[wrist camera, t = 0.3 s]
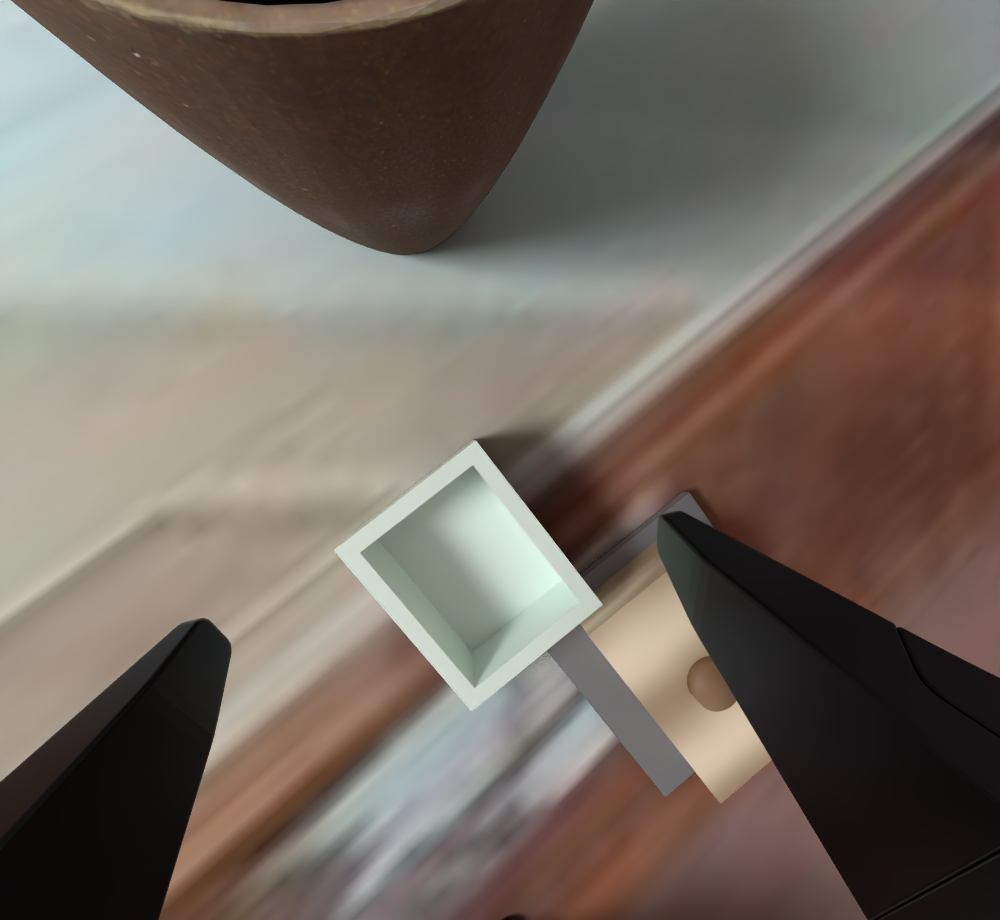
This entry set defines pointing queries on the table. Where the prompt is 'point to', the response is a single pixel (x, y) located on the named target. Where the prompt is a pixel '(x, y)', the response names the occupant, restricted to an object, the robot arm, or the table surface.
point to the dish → (469, 575)
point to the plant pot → (339, 95)
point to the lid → (674, 673)
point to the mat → (606, 683)
